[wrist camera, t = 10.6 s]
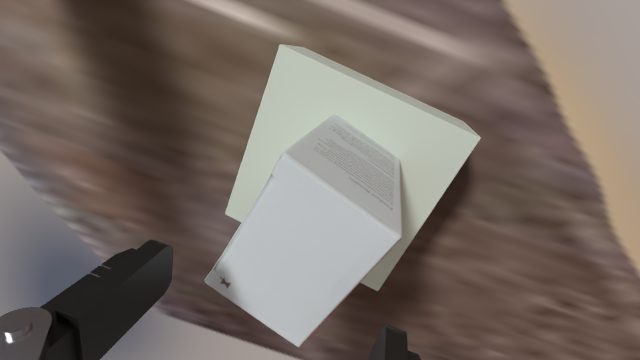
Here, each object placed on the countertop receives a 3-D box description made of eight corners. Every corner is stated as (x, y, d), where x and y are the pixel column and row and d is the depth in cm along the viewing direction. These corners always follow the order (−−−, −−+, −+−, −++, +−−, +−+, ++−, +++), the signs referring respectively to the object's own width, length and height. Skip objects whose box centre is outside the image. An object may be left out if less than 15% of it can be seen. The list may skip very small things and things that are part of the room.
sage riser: (305, 47, 26) (280, 44, 20) (462, 120, 25) (480, 137, 19) (255, 187, 31) (224, 213, 26) (381, 250, 31) (377, 291, 25)
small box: (337, 238, 24) (297, 353, 15) (278, 196, 24) (199, 285, 15) (403, 158, 21) (407, 240, 11) (334, 109, 21) (281, 151, 11)
